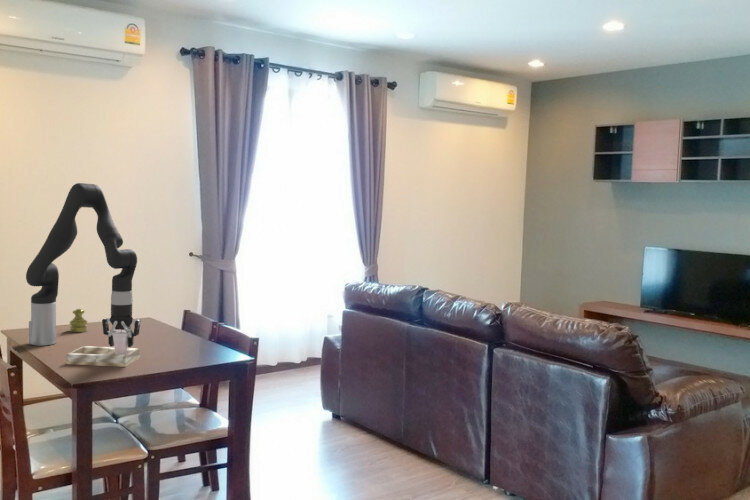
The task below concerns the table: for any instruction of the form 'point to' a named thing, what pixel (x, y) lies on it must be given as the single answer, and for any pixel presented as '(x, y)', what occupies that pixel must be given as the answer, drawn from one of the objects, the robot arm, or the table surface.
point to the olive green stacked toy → (78, 322)
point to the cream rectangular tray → (102, 356)
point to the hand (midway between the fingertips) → (121, 346)
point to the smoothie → (120, 341)
